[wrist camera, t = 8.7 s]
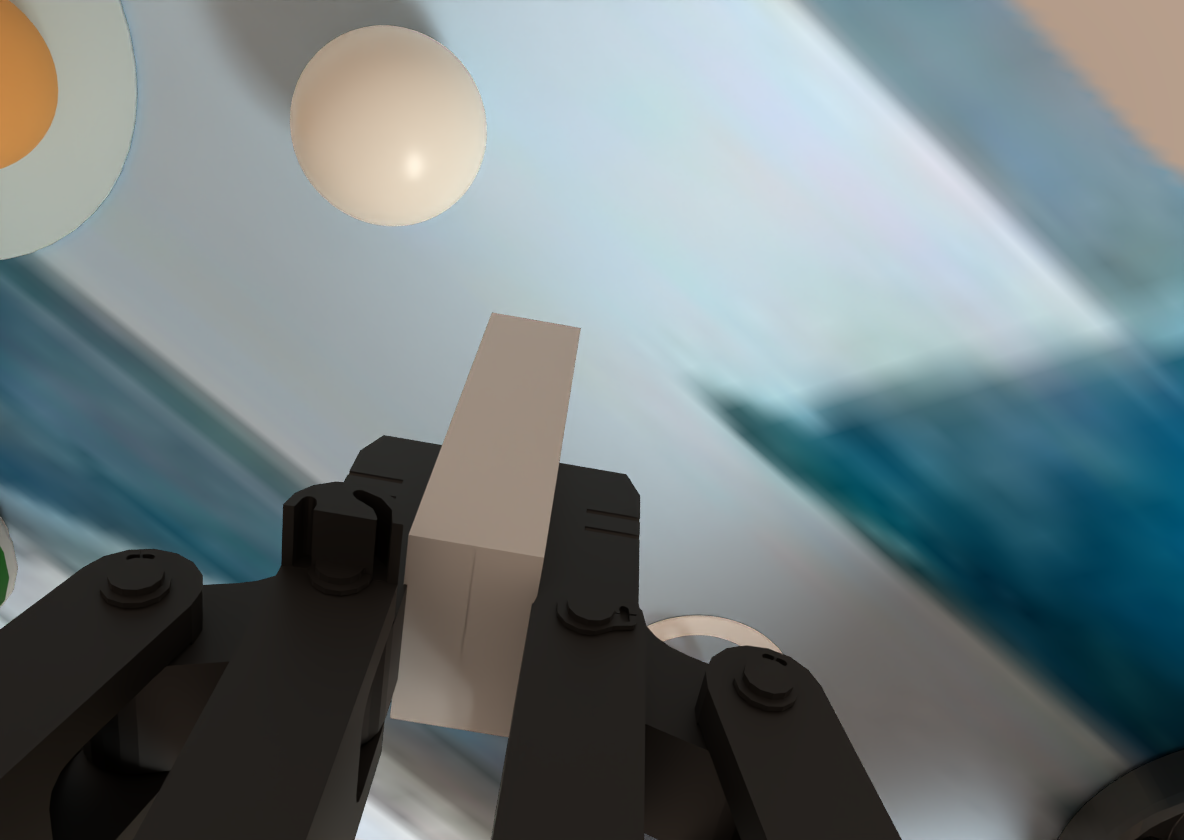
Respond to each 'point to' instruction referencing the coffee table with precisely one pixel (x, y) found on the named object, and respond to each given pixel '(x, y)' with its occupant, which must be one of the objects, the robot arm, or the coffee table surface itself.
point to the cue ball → (388, 125)
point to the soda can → (6, 563)
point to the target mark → (73, 125)
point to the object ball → (23, 85)
